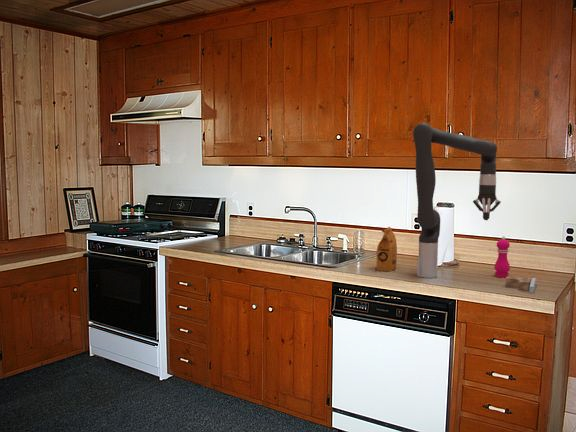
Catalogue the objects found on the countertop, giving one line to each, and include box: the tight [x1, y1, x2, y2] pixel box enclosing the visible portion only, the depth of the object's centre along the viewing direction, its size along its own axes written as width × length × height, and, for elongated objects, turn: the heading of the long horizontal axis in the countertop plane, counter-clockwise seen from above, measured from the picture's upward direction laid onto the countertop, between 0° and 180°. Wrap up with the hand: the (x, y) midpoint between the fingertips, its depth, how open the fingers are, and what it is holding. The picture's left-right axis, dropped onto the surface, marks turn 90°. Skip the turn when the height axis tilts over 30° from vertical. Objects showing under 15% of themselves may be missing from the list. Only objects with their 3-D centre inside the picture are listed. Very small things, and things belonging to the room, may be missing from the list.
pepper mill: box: [494, 236, 511, 279], centre depth 275 cm, size 7×7×20 cm
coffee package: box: [375, 226, 398, 273], centre depth 292 cm, size 10×12×22 cm
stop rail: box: [528, 277, 537, 294], centre depth 252 cm, size 2×18×3 cm, turn 153°
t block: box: [504, 275, 532, 292], centre depth 254 cm, size 10×12×4 cm
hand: (486, 220), depth 266 cm, fingers closed
